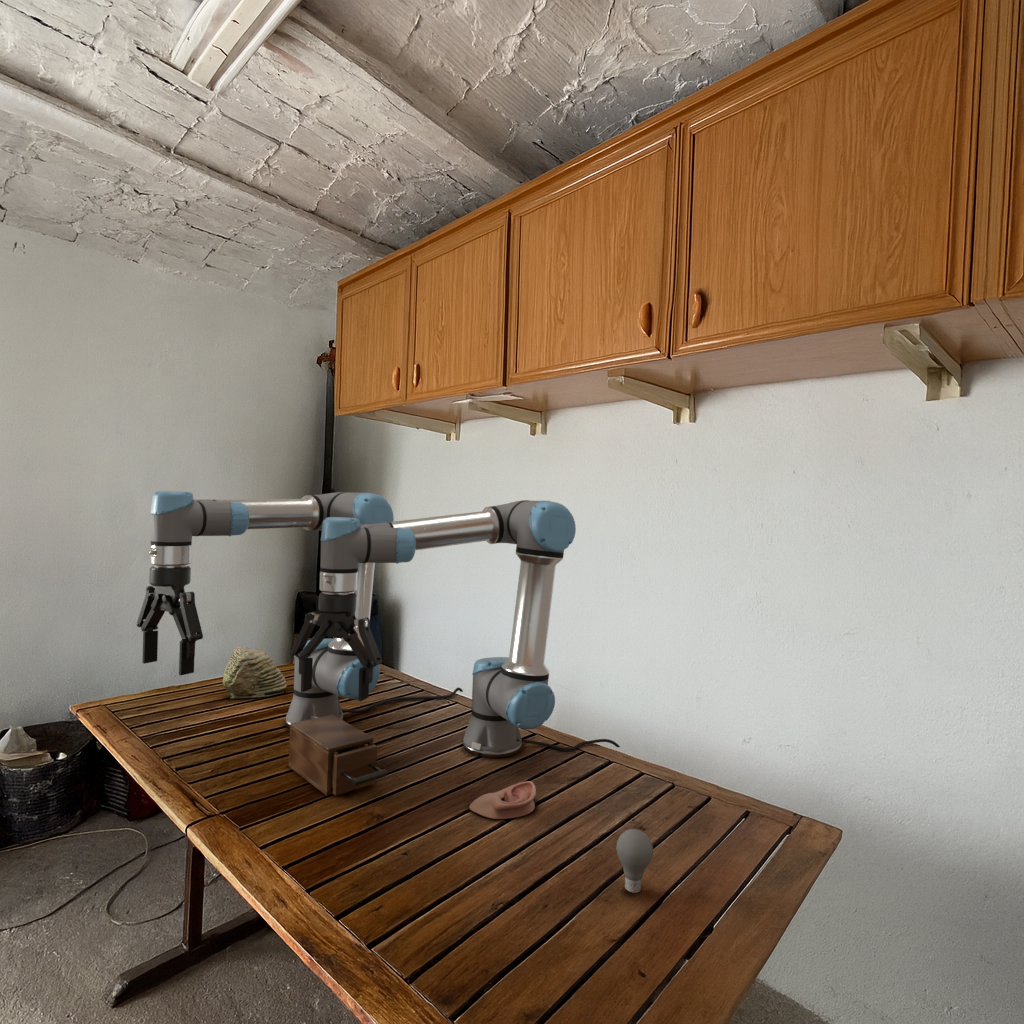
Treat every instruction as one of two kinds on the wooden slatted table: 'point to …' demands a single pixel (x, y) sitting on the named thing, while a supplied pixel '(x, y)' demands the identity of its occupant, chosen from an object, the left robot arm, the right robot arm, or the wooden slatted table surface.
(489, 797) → the anatomical model
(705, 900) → the wooden slatted table surface
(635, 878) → the light bulb
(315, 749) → the cabinet
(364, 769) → the drawer
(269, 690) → the fossil
